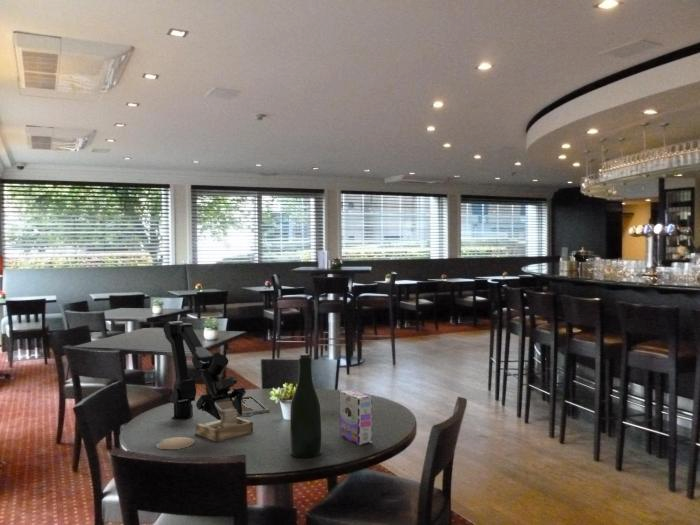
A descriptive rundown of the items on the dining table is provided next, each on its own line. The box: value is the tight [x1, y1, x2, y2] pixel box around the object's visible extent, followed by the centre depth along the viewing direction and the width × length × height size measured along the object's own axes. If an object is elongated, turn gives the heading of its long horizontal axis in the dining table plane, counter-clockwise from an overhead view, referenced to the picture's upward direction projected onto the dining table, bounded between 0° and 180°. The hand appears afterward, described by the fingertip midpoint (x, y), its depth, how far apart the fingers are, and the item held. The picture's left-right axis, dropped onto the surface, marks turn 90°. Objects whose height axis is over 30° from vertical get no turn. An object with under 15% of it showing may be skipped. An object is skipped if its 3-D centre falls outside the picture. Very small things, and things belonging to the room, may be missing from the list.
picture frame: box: [215, 395, 271, 418], centre depth 248 cm, size 19×2×30 cm
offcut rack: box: [195, 416, 254, 443], centre depth 213 cm, size 14×16×4 cm
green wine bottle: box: [289, 353, 323, 459], centre depth 190 cm, size 10×10×33 cm
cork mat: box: [157, 436, 195, 450], centre depth 201 cm, size 13×13×1 cm
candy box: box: [339, 388, 373, 446], centre depth 205 cm, size 14×6×16 cm, turn 30°
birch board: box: [220, 408, 238, 429], centre depth 211 cm, size 3×5×9 cm, turn 136°
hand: (230, 417), depth 210 cm, fingers open, 9 cm apart
